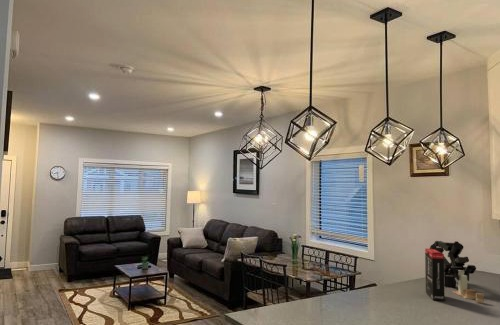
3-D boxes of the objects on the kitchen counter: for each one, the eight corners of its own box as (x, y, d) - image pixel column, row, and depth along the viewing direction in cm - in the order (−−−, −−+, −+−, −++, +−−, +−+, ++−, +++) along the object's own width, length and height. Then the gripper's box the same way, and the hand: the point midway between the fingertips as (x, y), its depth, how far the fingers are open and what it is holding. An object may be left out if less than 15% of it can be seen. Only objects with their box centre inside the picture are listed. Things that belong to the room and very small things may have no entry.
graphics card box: (445, 301, 208) (445, 253, 210) (432, 300, 209) (432, 252, 212) (436, 294, 225) (436, 248, 227) (424, 292, 226) (424, 248, 228)
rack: (461, 296, 221) (461, 287, 222) (475, 297, 221) (475, 288, 221) (473, 302, 208) (473, 293, 209) (488, 303, 208) (487, 294, 208)
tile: (451, 291, 233) (451, 290, 233) (466, 292, 232) (466, 291, 232) (458, 295, 224) (458, 294, 224) (474, 296, 223) (474, 295, 223)
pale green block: (458, 292, 230) (458, 274, 231) (464, 292, 230) (464, 274, 231) (461, 293, 226) (461, 275, 227) (467, 294, 226) (467, 275, 227)
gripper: (444, 250, 234) (452, 272, 223) (474, 252, 233) (484, 274, 221) (438, 261, 242) (446, 282, 230) (468, 262, 240) (477, 284, 228)
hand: (463, 280), depth 227 cm, fingers open, 5 cm apart
